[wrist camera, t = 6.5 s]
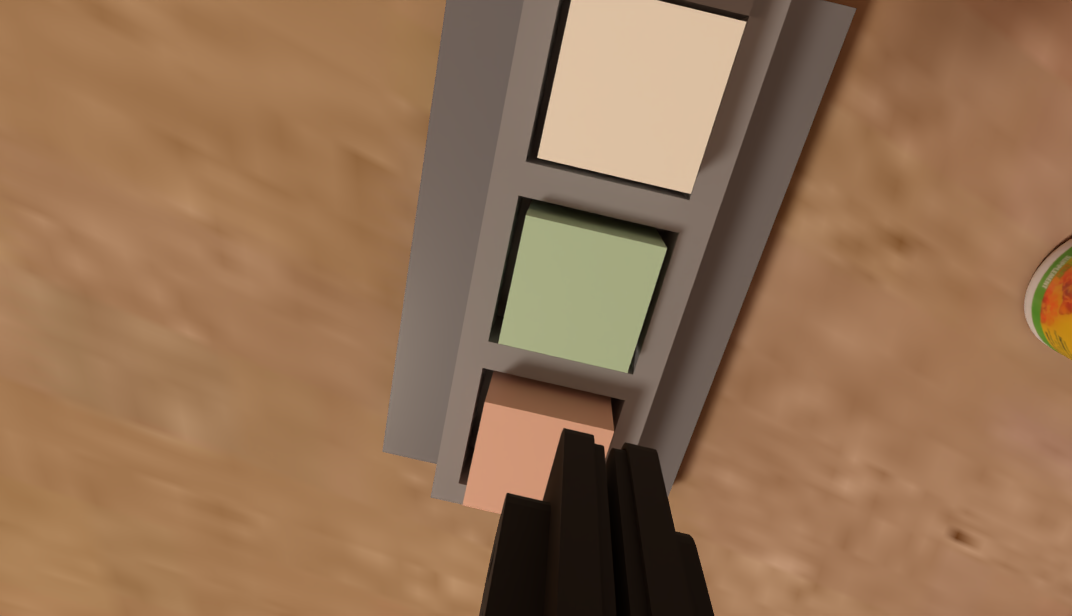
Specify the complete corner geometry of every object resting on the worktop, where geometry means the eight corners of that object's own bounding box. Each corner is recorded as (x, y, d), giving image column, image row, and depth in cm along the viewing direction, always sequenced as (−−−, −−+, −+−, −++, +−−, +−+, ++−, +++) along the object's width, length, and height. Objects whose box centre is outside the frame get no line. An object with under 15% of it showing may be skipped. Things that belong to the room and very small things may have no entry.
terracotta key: (609, 385, 23) (614, 431, 20) (581, 477, 24) (581, 531, 21) (496, 360, 22) (484, 401, 19) (476, 453, 24) (462, 505, 21)
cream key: (718, 32, 18) (746, 22, 15) (673, 177, 19) (690, 193, 16) (575, -2, 18) (575, -20, 15) (543, 146, 19) (537, 157, 16)
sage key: (654, 225, 21) (667, 248, 18) (620, 335, 23) (627, 373, 20) (533, 197, 21) (525, 215, 18) (508, 309, 22) (498, 343, 20)
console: (836, 14, 19) (898, -4, 16) (656, 492, 27) (669, 557, 23) (467, -76, 19) (441, -115, 15) (392, 432, 27) (362, 488, 23)
